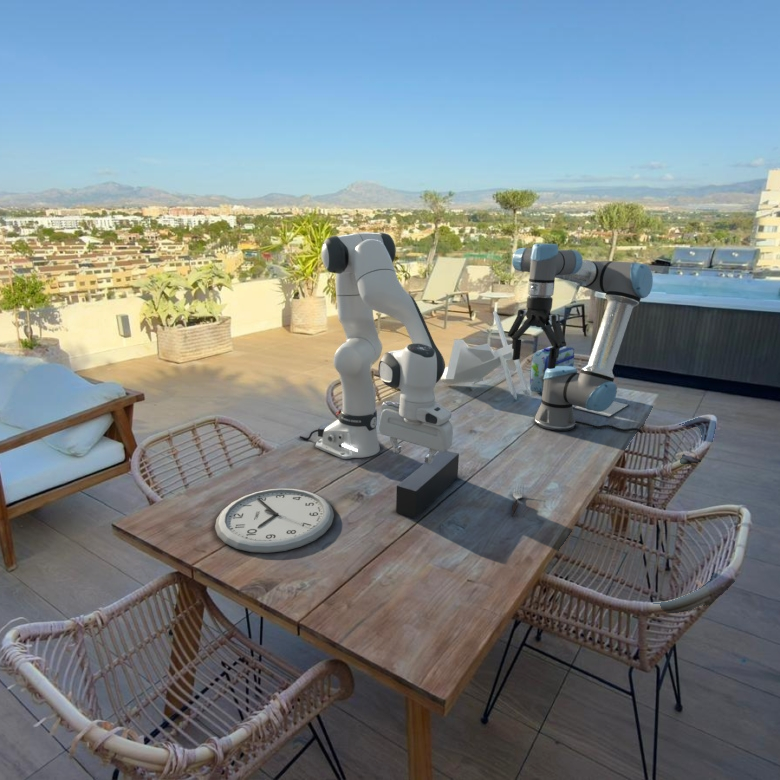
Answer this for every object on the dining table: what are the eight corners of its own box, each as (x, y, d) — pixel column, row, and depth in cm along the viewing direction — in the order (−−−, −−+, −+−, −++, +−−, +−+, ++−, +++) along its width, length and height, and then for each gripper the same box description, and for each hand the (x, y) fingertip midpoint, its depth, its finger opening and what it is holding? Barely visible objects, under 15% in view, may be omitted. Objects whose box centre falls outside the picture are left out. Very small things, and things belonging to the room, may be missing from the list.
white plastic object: (461, 429, 252) (437, 405, 227) (444, 352, 274) (420, 323, 250) (535, 404, 240) (518, 377, 215) (510, 326, 262) (492, 293, 237)
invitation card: (608, 416, 214) (573, 407, 224) (608, 416, 214) (573, 408, 224) (628, 404, 229) (594, 396, 238) (628, 405, 229) (594, 397, 238)
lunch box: (546, 398, 236) (551, 353, 229) (525, 393, 243) (529, 349, 237) (573, 387, 253) (579, 344, 247) (553, 382, 260) (558, 341, 254)
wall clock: (332, 544, 122) (200, 548, 120) (332, 550, 123) (201, 555, 120) (334, 484, 151) (228, 486, 148) (334, 489, 151) (228, 491, 149)
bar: (440, 472, 163) (441, 449, 160) (457, 477, 160) (459, 453, 158) (395, 512, 140) (396, 485, 138) (415, 518, 137) (416, 491, 135)
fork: (506, 517, 138) (507, 510, 138) (514, 490, 152) (515, 483, 152) (516, 518, 137) (517, 512, 137) (523, 491, 152) (524, 485, 151)
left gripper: (375, 402, 136) (372, 450, 140) (446, 421, 126) (441, 472, 130) (388, 396, 141) (385, 443, 145) (457, 413, 131) (452, 463, 135)
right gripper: (500, 292, 166) (495, 357, 172) (568, 301, 147) (560, 374, 154) (515, 291, 171) (509, 354, 177) (583, 300, 152) (574, 370, 158)
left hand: (412, 457), depth 138 cm, fingers open, 8 cm apart
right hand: (533, 363), depth 165 cm, fingers open, 13 cm apart
